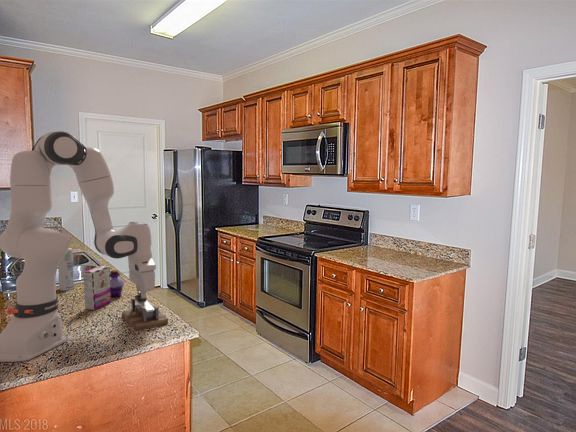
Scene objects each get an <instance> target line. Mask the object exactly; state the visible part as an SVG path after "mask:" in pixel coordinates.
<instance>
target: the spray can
mask: <svg viewBox="0 0 576 432" xmlns="http://www.w3.org/2000/svg"><path fill="white" fill-rule="evenodd" d="M73 252H74V250H73V248H72V247H69V250H68V252H67V254H66V255H65V256H64V257H63V258H62V259H61V260H60V262H59V265H58V268H57V271H58V283H59V284H58V285H59V291H61V292H62V291H63V292H64V291H72V290H73V289H75V281H74V279H75V277H74V258H73V257H74V255H73V254H74V253H73Z"/></svg>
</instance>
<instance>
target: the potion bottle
mask: <svg viewBox="0 0 576 432" xmlns="http://www.w3.org/2000/svg"><path fill="white" fill-rule="evenodd" d="M120 275H121V273H120V272H119V270H110V285H111V299H112V298H120V297H121V296H122V293H123V287H124V285H125V280H124V279H122V278H119V277H120Z"/></svg>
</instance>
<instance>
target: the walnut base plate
mask: <svg viewBox="0 0 576 432" xmlns="http://www.w3.org/2000/svg"><path fill="white" fill-rule="evenodd" d="M151 306H152V307H153V308H154V307H155V306H153V305H151ZM121 317H122V318H123V319H124V320H125V322H127V323H128V324H129V325H130V327H132V328H133V329H134V331H135V332H137V331H141V330H146V329H151V328H154V327H160V326H164V325H168V324H169V318H168V317H167V316H165V315H164V314H163V313H162V312H161V311H159V320H155V319H150V320H146V322H145V323H144V322H142V318H141V317H140V316H139V315H138V314H137V313H135V312H132V311H131V309H130V310H123V311H122V312H121Z"/></svg>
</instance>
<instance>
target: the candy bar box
mask: <svg viewBox="0 0 576 432" xmlns="http://www.w3.org/2000/svg"><path fill="white" fill-rule="evenodd" d="M110 267H111V266H110V265H99V266H96V267H93V268H91V269H88V270H84V271H83V272H82V276H83V277H82V279H83V290H84V291H83V292H84V308H85V310H88V311H89V310H91V311H96V310H98V309H100V308H102V307H104V306H107V305H108V304H110V303H112V298H111V285H110V280H111V277H110V272H111V269H110Z"/></svg>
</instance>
